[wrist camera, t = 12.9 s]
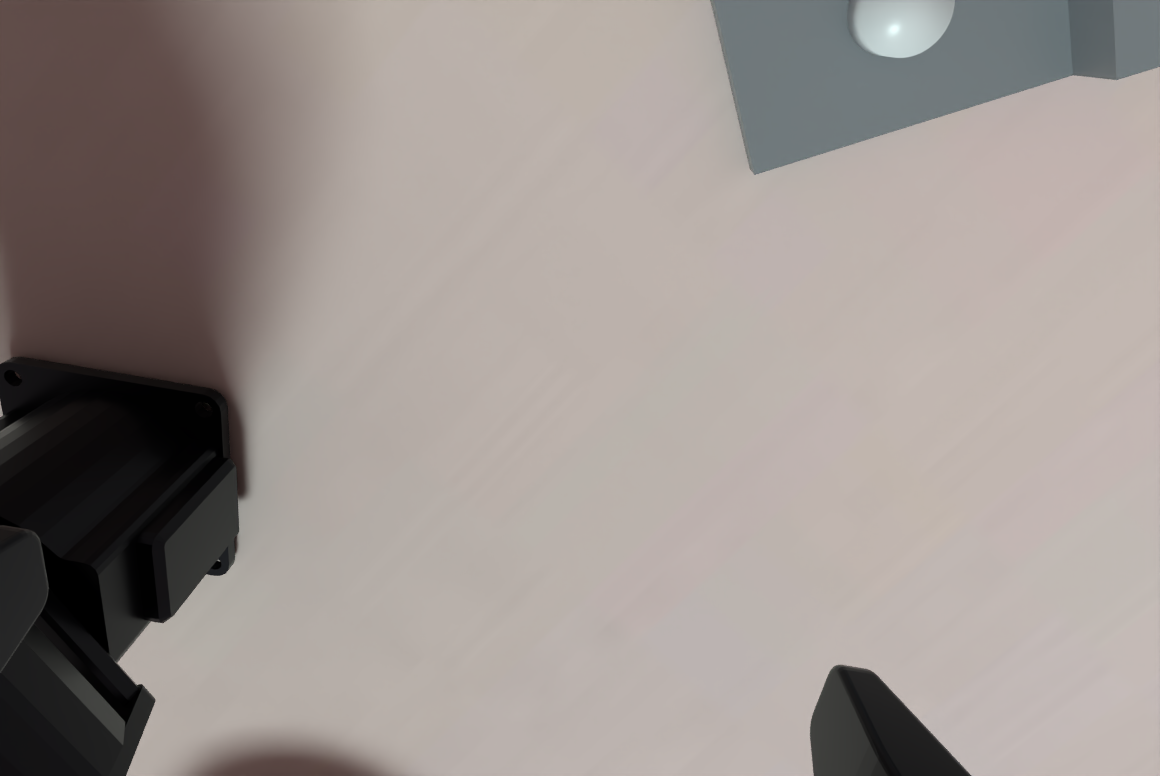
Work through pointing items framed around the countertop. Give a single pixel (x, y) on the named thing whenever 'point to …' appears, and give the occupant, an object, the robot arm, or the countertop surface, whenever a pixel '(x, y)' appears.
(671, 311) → the countertop surface
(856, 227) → the countertop surface
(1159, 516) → the countertop surface
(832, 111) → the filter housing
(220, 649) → the countertop surface
